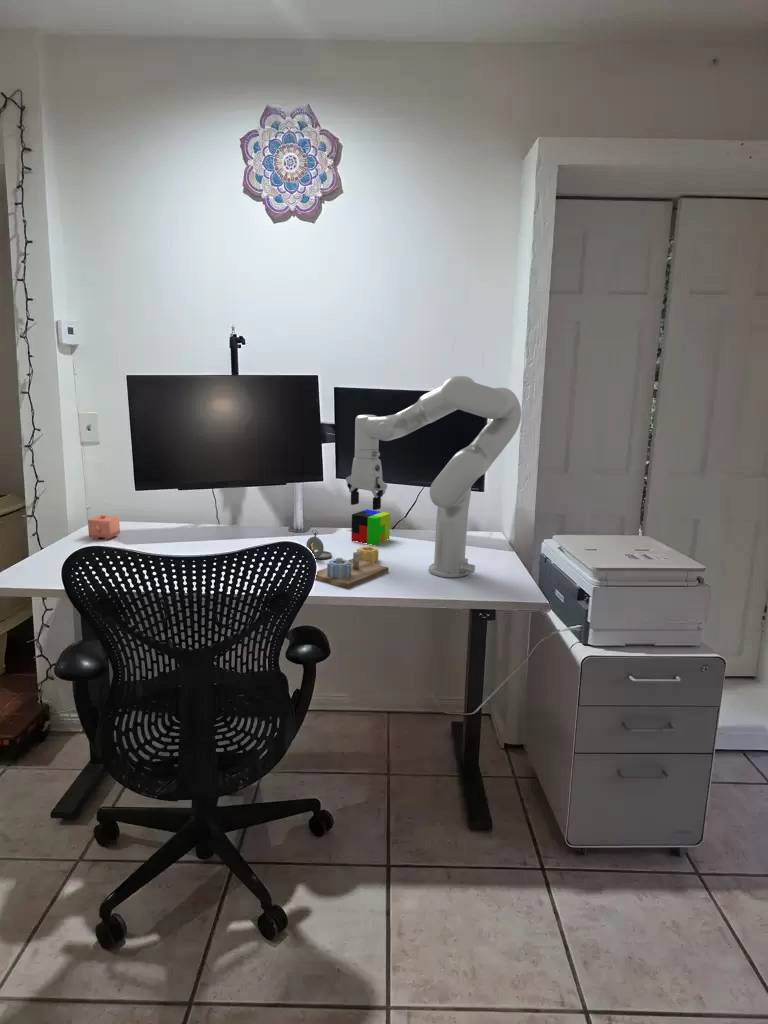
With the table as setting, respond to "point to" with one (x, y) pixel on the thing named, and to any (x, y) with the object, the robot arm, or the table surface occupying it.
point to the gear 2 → (368, 554)
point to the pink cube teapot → (103, 526)
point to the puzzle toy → (370, 527)
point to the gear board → (354, 573)
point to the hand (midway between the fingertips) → (365, 506)
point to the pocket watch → (317, 547)
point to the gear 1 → (339, 569)
